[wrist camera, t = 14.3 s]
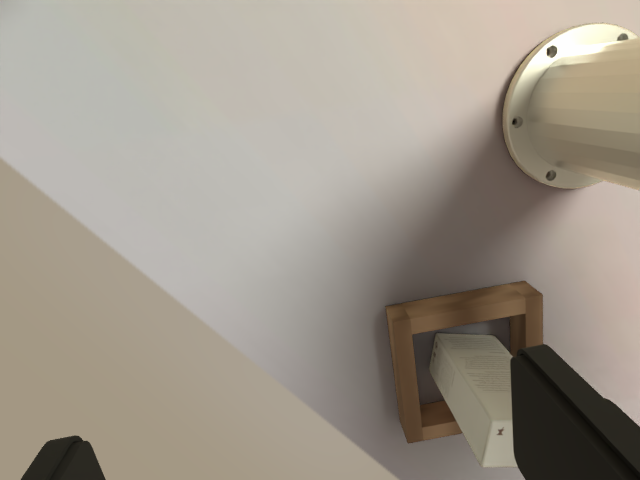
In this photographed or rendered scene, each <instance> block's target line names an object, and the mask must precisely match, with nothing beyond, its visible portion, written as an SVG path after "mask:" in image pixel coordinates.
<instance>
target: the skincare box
mask: <svg viewBox="0 0 640 480" xmlns="http://www.w3.org/2000/svg"><path fill="white" fill-rule="evenodd" d="M512 357H513V356H512V355H511V354H510V353H509V351H508V350H507V349H506V348H505V347H504V346H503V345H502V343H501V342H500V341H499V340H498V339H497V338H496V337H495V336H494V335H469V334H442V333H436V335H435V340H434V346H433V351H432V356H431V361H430V366H429V371H430V373H431V375H432V377H433V379H434V381H435V382H436V384H437V386H438V388H439V390H440V392H441V394H442V395H443V397H444V399H445V401H446V403H447V405H448V406H449V408H450V410H451V412H452V414H453V416H454V418H455V419H456V421H457V423H458V425H459V427H460V429H461V431H462V432H463V434H464V436H465V438H466V440H467V442H468V444H469V445H470V447H471V449H472V451H473V453H474V455H475V456H476V458H477V460H478V462H479V464H480V465H481V467H518V466H517V463H516V461H515V457H514V451H513V426H512V398H511V371H510V360H511V358H512Z"/></svg>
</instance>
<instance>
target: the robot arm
mask: <svg viewBox="0 0 640 480" xmlns="http://www.w3.org/2000/svg"><path fill="white" fill-rule="evenodd" d="M547 50H548V54H547V55H546V51H547ZM513 119H514V120H515V122H514V124H512V121H513ZM502 127H503V133H504V139H505V143H506V145H507V148H508V151H509V153H510V155H511V157H512V158H513V160H514V161H515V163H516V164H517V166H518V167H519V168H520V169H521V170H522V171H523V172H524V173H525V174H527V175H528V176H530V177H531V178H533V179H535V180H536V181H538V182H541V183H543V184H546V185H549V186H553V187H558V188H571V189H576V188H581V187H587V186H591V185H594V184H596V183H599V182H602V181H607V182H611V183H614V184H618V185H622V186H625V187H629V188H633V189H636V190H640V37H638V36H637V35H636V34H634V33H633V32H632V31H630V30H628V29H625V28H623V27H621V26H618V25H614V24H608V23H589V24H583V25H579V26H574V27H571V28H568V29H566V30H563V31H561V32H558V33H556V34H555V35H553V36H551V37H550V38H548V39H546V40H545V41H543V42H542V43H541V44H540V45H539V46H538V47H537V48H535V49H534V50H533V51H532V52H531V53H530V54H529V55H528V57H527V58H526V59H525V60H524V61H523V63H522V64H521V65H520V67H519V68H518V70H517V72H516V74H515V75H514V77H513V79H512V81H511V83H510V86H509V89H508V91H507V94H506V97H505V102H504V108H503V125H502ZM546 174H547V175H546ZM510 371H511V398H512V426H513V451H514V457H515V461H516V463H517V466H518V468H519V470H520V472H521V473H522V475H523V476H524V478H525V479H526V480H640V427H639V426H638V425H637V424H636V423H635V422H634V421H633V420H632V419H630V418H629V417H628V416H627V415H626V414H625V413H624V412H623V411H622V410H621V409H620V408H619V407H618V406H617V405H615V404H614V403H613V402H611V401H610V400H608V399H605V398H603V397H602V396H601V395H600V394H599V393H598V392H596V391H595V390H594V389H593V388H592V387H591V386H590V385H589V384H588V383H587V382H586V381H585V380H584V379H583V378H582V377H581V376H580V375H579V374H578V373H576V372H575V371H574V370H573V369H572V368H571V367H570V366H569V365H568V364H567V363H566V362H565V361H564V360H563V359H562V358H561V357H560V356H559V355H557V354H556V353H555V352H554V351H553V350H552V349H551V348H550V347H549V346H547V345H545V344H542V345H537V346H532V347H526V348H521V349H519V350H518V351H517V356H516V357H512V358H511V360H510ZM21 480H105V477H104V475H103V472H102V470H101V468H100V465H99V463H98V461H97V458H96V456H95V453H94V451H93V449H92V446H91V444H90V443H89V442H88V441H83V440H82V438H80V437H79V436H71V437H65V438H60V439H55V440H50V441H48V442H47V443H46V444H45V445H44V446H43V447H42V449H41V450H40V452H39V453H38V455H37V456H36V458H35V459H34V461H33V462H32V464H31V465H30V467H29V468H28V470H27V471H26V472H25V474H24V475H23V477H22V479H21Z"/></svg>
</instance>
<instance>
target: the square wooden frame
mask: <svg viewBox="0 0 640 480" xmlns="http://www.w3.org/2000/svg"><path fill="white" fill-rule="evenodd" d="M385 307H386V315H387V323H388V331H389V339H390V346H391V354H392V362H393V370H394V378H395V386H396V393H397V401H398V409H399V417H400V423H401V425H402V428H403V431H404V434H405V437H406V439H407V442H408V443H413V442H418V441H424V440H429V439H434V438H439V437H445V436H450V435H455V434H460V433H463V432H462V431H461V429H460V427H459V425H458V423H457V421H456V419H455V418H454V416H453V414H452V412H451V410H450V408H449V406H448V405H447V403H446V401H445V400H444V401H439V402H434V403H428V404H423V405H420V403H419V394H418V384H417V375H416V366H415V357H414V348H413V338H412V334H417V333H423V332H428V331H433V330H439V329H444V328H450V327H455V326H460V325H466V324H471V323H477V322H482V321H487V320H493V319H498V318H504V317H509V316H510V349H511V355H512V356H513V357H516V356H517V351H518V350H519V349H521V348H526V347H532V346H537V345H542V344H543V295H542V294H541V293H540V292H538V291H537V290H536V289H535V288H533V287H532V286H531V285H529V284H528V283H527V282H526V281H520V282H515V283H510V284H504V285H499V286H493V287H488V288H482V289H477V290H471V291H466V292H461V293H455V294H450V295H444V296H439V297H433V298H428V299H422V300H417V301H411V302H406V303H401V304H395V305H390V306H385Z"/></svg>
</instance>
